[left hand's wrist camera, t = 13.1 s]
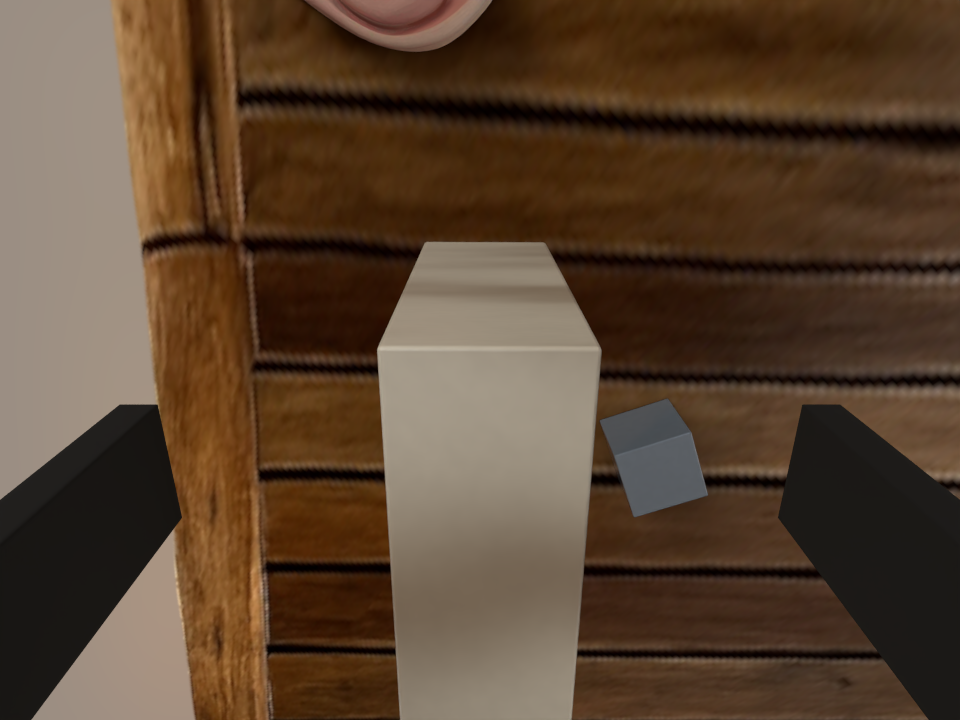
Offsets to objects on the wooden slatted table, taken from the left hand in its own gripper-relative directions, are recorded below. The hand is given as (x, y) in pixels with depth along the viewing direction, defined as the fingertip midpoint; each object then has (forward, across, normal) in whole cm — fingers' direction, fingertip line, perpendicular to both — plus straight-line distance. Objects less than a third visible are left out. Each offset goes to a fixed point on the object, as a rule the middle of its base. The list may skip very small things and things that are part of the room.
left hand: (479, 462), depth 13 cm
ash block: (+9, 0, +9) cm, 13 cm away
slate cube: (+28, -12, +15) cm, 33 cm away
